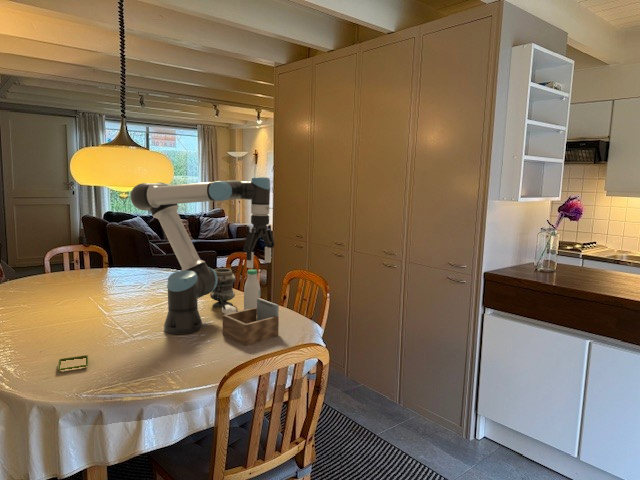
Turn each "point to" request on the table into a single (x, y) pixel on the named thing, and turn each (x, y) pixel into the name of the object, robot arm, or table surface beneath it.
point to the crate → (249, 326)
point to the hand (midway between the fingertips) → (259, 265)
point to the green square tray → (73, 359)
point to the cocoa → (227, 307)
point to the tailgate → (266, 309)
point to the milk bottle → (251, 290)
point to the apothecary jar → (223, 287)
